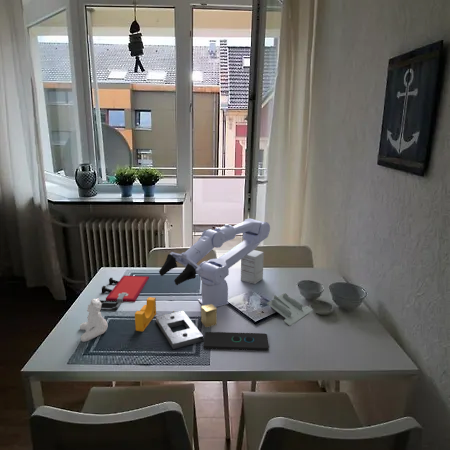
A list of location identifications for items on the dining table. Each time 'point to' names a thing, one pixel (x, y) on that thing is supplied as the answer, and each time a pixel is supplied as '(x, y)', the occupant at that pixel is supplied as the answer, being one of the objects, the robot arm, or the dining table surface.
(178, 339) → the metal plate with hole
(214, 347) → the smart home device
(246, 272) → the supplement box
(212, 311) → the brass block
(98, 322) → the sitting furry creature
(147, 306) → the pipe clamp
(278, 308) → the metal bracket
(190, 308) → the dining table surface
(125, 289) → the red board with handle
